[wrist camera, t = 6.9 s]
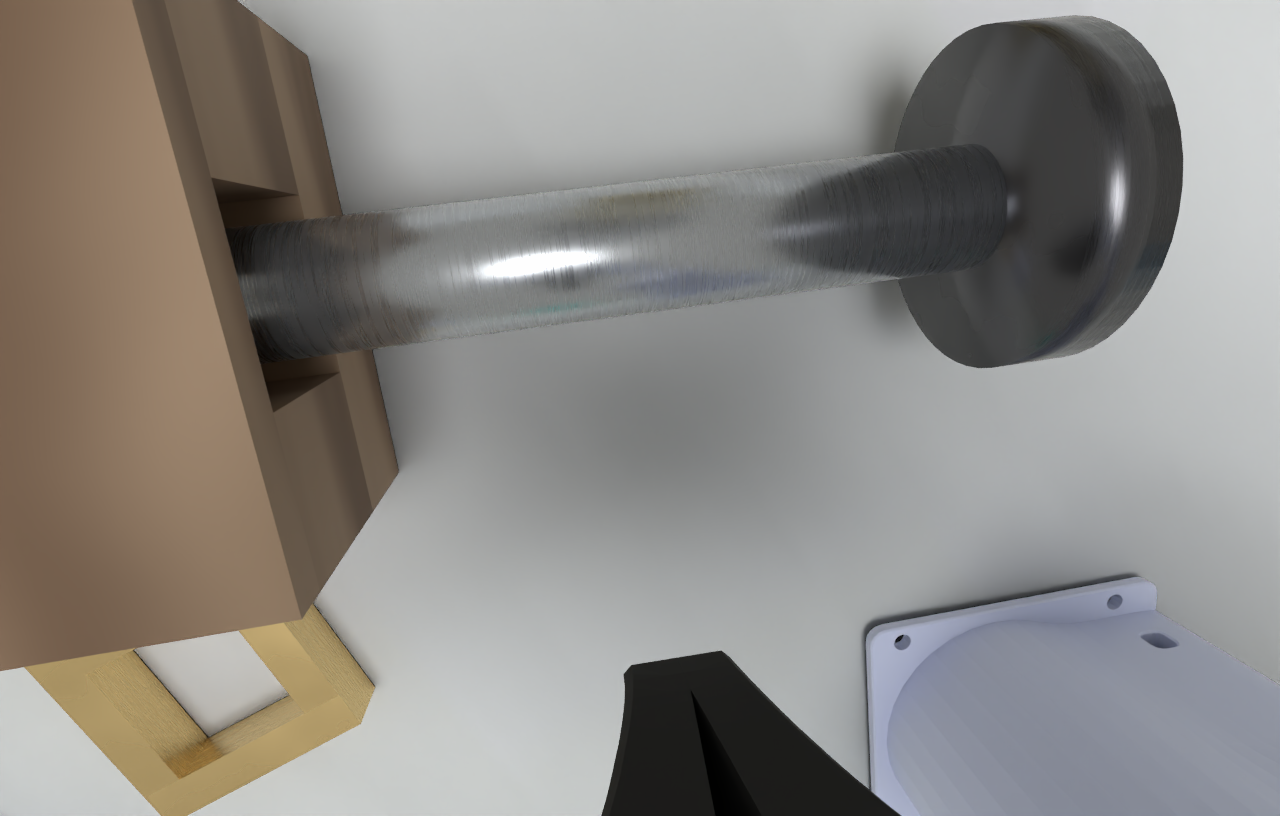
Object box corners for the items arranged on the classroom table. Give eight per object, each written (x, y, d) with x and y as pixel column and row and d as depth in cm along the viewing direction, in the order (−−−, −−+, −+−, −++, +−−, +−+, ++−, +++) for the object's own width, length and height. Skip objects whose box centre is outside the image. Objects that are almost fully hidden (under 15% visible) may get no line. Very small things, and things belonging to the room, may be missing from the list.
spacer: (256, 527, 17) (229, 552, 16) (375, 687, 19) (360, 723, 18) (64, 628, 17) (20, 663, 16) (198, 780, 19) (169, 824, 17)
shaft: (945, 67, 16) (1201, -48, 10) (946, 336, 17) (1165, 386, 11) (133, 149, 14) (-194, 72, 8) (217, 440, 16) (0, 569, 9)
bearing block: (306, 55, 15) (103, -105, 8) (398, 472, 18) (301, 619, 11) (70, 77, 15) (-362, -75, 8) (198, 502, 17) (-40, 677, 10)
